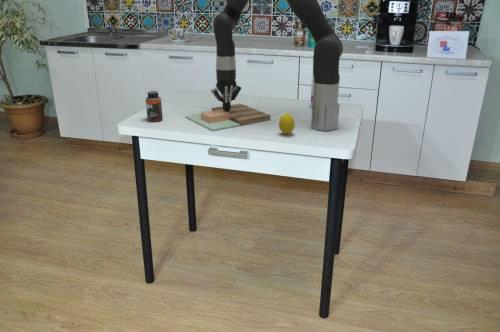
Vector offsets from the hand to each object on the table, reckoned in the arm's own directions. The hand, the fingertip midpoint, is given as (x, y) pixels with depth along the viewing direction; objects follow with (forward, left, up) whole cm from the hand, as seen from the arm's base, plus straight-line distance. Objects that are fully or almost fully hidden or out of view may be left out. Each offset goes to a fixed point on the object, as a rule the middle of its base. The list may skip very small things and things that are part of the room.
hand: (226, 111), depth 188 cm
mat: (0, +7, -3) cm, 8 cm away
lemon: (-29, -7, -3) cm, 30 cm away
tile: (0, +5, -2) cm, 6 cm away
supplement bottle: (+14, +25, -3) cm, 29 cm away
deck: (0, -6, -3) cm, 7 cm away
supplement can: (-8, -42, -3) cm, 43 cm away
